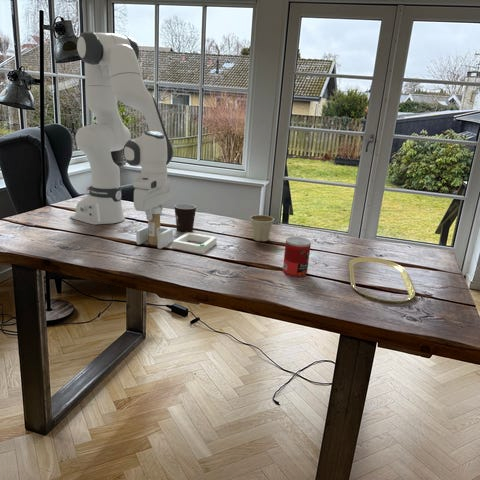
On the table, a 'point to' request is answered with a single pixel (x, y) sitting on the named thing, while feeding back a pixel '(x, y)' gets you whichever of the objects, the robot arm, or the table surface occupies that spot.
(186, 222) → the dark brown cup
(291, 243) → the canned food
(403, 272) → the gold ring
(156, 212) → the sprinkles bottle
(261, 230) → the flower pot
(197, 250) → the block
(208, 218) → the table surface
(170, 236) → the bracket
